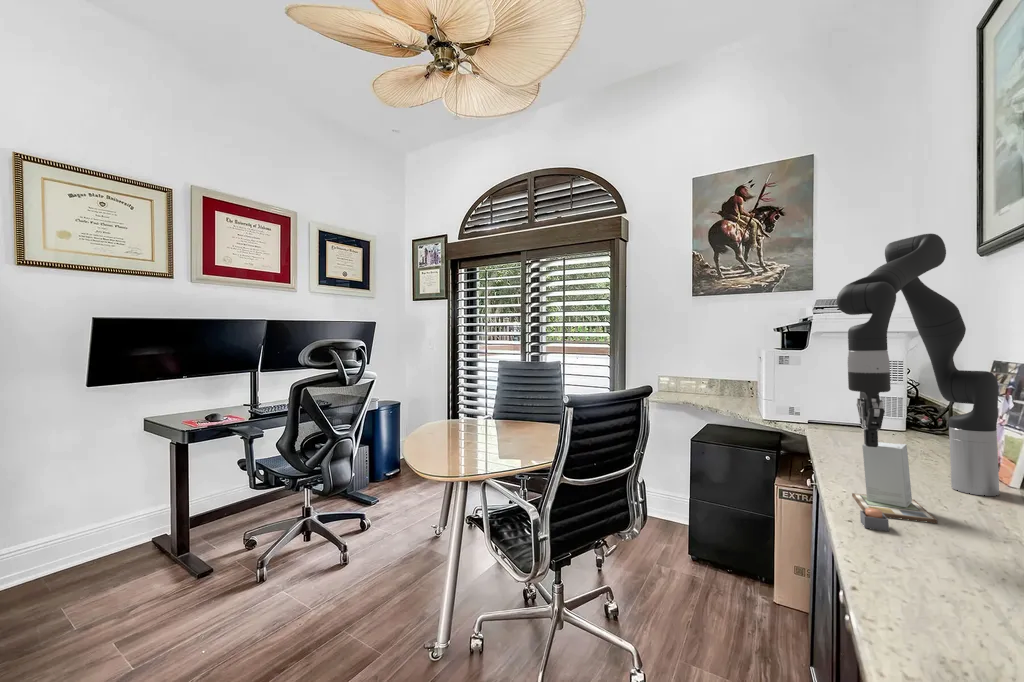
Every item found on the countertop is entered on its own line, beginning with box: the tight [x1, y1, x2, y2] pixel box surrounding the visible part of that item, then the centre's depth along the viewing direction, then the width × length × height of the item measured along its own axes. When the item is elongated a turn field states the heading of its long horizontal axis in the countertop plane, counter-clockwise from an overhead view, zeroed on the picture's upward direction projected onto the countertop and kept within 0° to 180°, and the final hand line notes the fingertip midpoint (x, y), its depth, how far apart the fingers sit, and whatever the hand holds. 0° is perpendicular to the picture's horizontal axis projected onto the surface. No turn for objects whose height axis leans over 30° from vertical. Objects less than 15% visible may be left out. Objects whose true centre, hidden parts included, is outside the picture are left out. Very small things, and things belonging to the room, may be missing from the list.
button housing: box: [859, 510, 890, 532], centre depth 101 cm, size 4×4×3 cm
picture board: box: [851, 492, 938, 524], centre depth 112 cm, size 15×13×1 cm
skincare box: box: [861, 441, 913, 508], centre depth 114 cm, size 8×6×15 cm
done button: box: [865, 508, 882, 518], centre depth 101 cm, size 3×3×2 cm
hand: (871, 446), depth 101 cm, fingers closed
